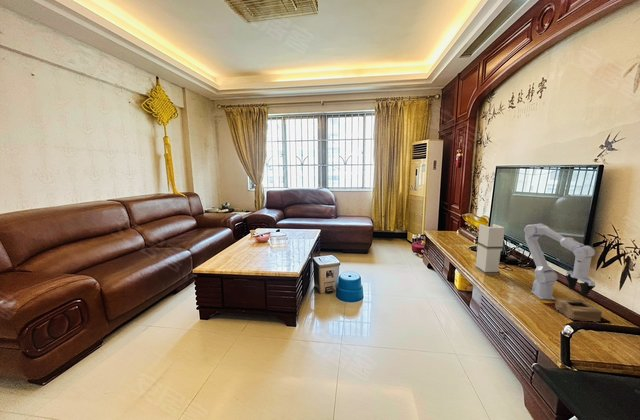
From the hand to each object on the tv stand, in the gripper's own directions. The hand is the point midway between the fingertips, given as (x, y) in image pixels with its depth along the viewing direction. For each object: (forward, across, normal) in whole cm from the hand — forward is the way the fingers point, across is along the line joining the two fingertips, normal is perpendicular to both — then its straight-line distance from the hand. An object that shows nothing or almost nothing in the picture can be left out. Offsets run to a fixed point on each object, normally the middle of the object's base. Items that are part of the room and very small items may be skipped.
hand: (577, 292), depth 135 cm
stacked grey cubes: (+10, -49, -21) cm, 55 cm away
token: (+10, +5, -4) cm, 12 cm away
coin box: (+10, +5, -3) cm, 12 cm away
